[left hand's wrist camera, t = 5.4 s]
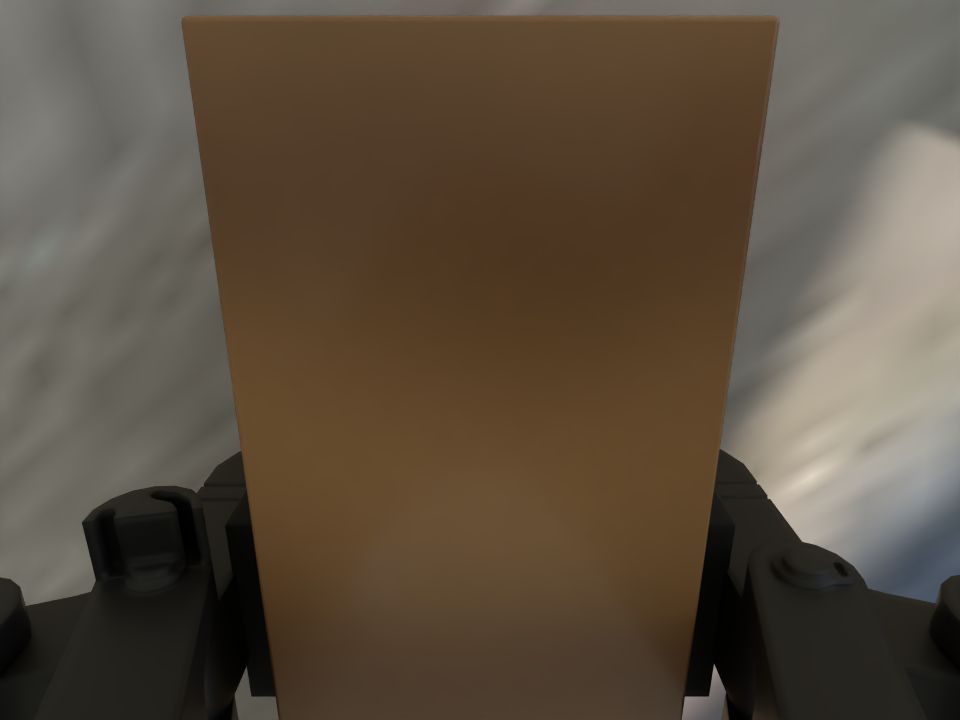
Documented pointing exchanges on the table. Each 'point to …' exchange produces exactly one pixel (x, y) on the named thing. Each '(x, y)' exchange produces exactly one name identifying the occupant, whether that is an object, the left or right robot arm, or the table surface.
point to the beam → (480, 344)
